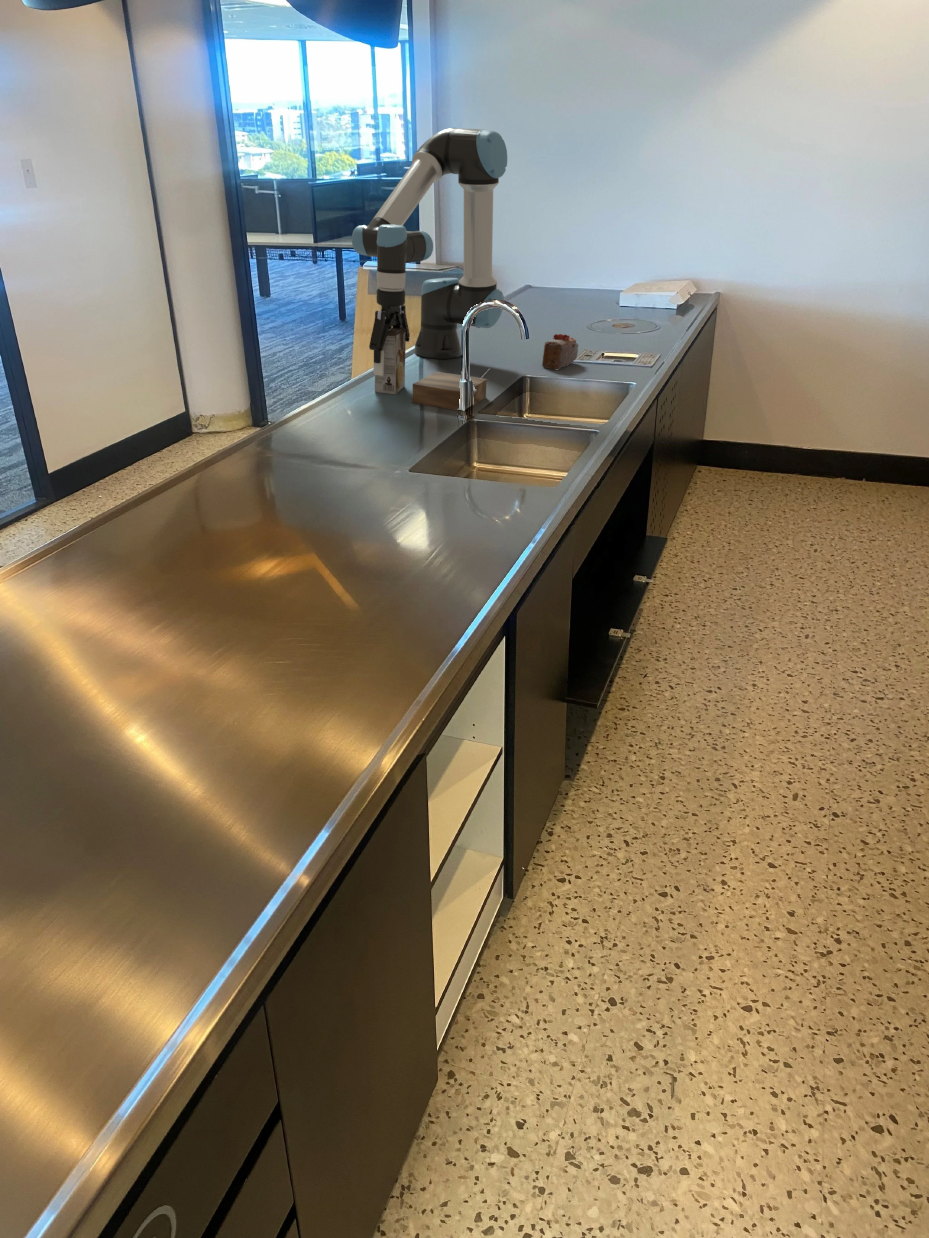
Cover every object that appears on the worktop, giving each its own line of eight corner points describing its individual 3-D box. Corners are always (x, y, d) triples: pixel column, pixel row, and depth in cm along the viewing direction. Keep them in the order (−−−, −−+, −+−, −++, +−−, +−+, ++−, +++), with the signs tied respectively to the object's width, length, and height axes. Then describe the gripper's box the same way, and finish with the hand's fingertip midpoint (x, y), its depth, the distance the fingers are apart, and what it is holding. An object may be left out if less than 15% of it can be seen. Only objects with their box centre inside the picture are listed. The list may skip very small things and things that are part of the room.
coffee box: (383, 384, 251) (383, 325, 243) (405, 386, 250) (406, 328, 242) (374, 392, 243) (374, 332, 235) (396, 394, 242) (397, 334, 234)
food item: (555, 359, 290) (558, 328, 285) (578, 363, 287) (581, 332, 282) (539, 367, 279) (542, 335, 274) (563, 371, 276) (566, 339, 271)
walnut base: (436, 389, 249) (436, 371, 247) (485, 397, 245) (486, 379, 242) (412, 402, 236) (412, 384, 234) (464, 411, 232) (465, 392, 229)
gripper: (398, 282, 245) (396, 359, 255) (356, 293, 225) (356, 377, 235) (423, 285, 243) (420, 363, 253) (382, 296, 222) (381, 381, 232)
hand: (389, 370), depth 244 cm, fingers open, 13 cm apart
